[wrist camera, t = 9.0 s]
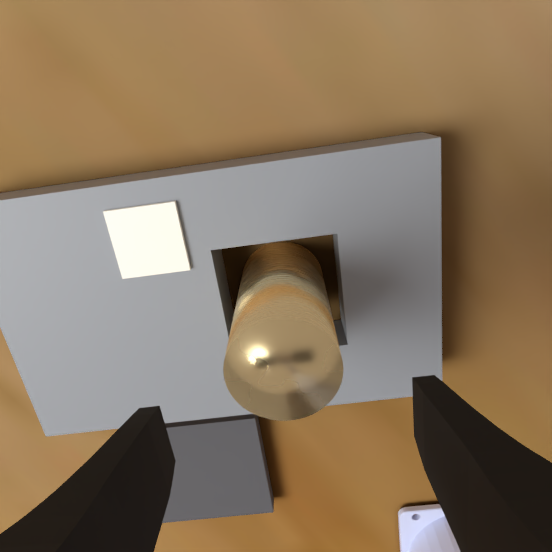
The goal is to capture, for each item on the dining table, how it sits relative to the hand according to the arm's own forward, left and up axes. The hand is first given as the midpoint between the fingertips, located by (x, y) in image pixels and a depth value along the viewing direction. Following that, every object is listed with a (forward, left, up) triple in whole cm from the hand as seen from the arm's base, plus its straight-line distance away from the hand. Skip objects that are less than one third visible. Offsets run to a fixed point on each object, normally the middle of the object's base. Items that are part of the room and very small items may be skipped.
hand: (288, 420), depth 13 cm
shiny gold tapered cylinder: (0, 0, -10) cm, 10 cm away
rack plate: (+3, 0, -10) cm, 11 cm away
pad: (+6, +11, -10) cm, 16 cm away
